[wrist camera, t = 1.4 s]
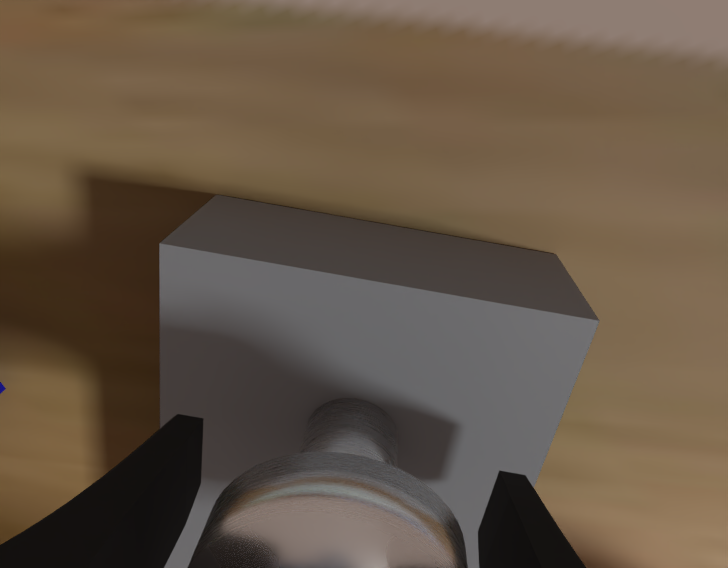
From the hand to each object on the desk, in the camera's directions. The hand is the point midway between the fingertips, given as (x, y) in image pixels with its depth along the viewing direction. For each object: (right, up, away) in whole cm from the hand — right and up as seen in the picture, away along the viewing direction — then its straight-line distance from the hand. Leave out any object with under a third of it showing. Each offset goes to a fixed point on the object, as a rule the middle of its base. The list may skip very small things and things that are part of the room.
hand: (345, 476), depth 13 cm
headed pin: (0, +1, +1) cm, 1 cm away
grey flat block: (0, -2, +7) cm, 7 cm away
